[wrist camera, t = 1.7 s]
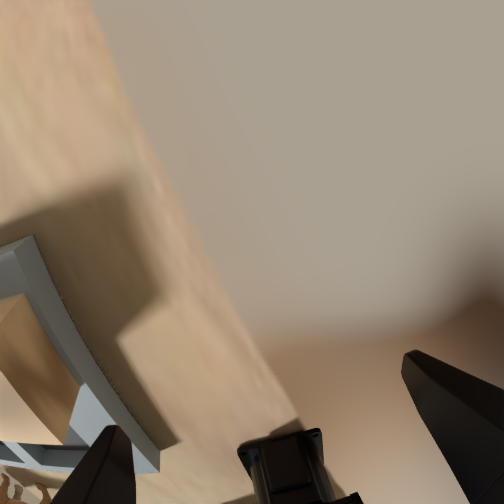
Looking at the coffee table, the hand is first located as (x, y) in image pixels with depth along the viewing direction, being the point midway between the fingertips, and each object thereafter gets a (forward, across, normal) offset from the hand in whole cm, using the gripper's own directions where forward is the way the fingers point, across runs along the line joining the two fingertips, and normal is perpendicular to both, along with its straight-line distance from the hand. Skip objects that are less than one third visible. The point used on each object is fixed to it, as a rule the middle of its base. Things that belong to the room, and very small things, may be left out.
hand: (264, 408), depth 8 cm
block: (+6, +12, 0) cm, 14 cm away
